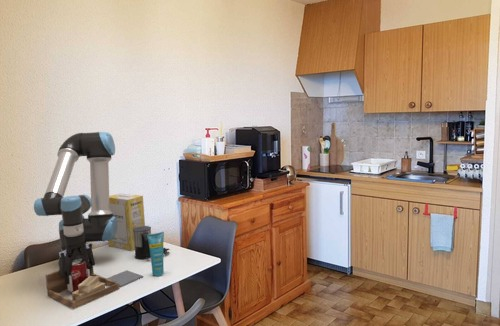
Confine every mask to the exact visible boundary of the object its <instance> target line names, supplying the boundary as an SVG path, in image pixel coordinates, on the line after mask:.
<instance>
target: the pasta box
mask: <svg viewBox="0 0 500 326" xmlns="http://www.w3.org/2000/svg"><path fill="white" fill-rule="evenodd" d="M109 206H110V211H111V212H112V213H113V216H114V217H116V218H117V230H116V234H115V237H114V238H113V239H112V240H110V241H108V247H110V248H115V249H119V250H125V251H130V252H135V245H134V233H133V228H136V227H140V226H146V221H145V207H144V195H139V194H138V195H137V194H127V193H115V194H112V195H109Z"/></svg>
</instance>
